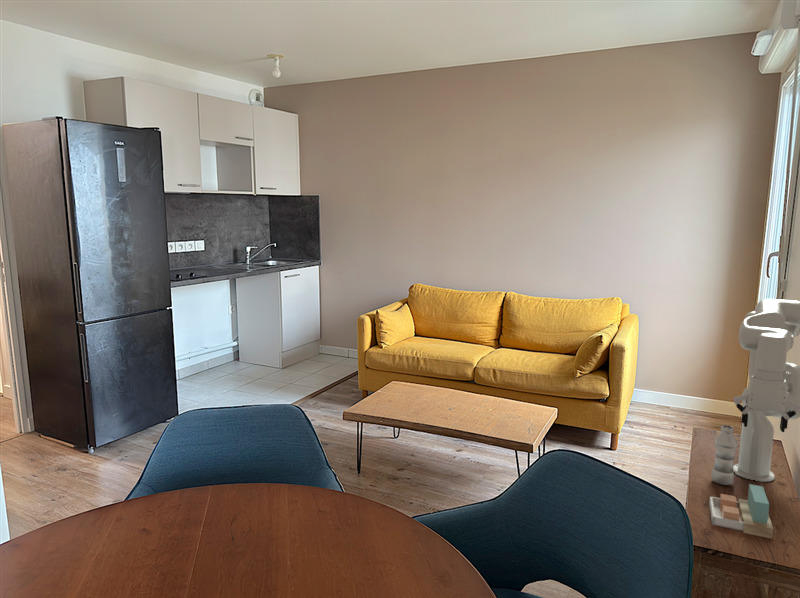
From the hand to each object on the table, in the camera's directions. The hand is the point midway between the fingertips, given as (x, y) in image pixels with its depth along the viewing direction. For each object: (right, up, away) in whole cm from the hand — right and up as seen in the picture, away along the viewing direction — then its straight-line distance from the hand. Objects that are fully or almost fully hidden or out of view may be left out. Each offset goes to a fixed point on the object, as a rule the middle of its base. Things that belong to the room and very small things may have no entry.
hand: (763, 427), depth 174 cm
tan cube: (-9, -24, -1) cm, 25 cm away
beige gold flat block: (-6, -27, -6) cm, 28 cm away
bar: (-6, -24, -6) cm, 25 cm away
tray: (-13, -26, -3) cm, 29 cm away
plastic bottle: (-2, -23, +19) cm, 31 cm away
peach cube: (-12, -25, -8) cm, 29 cm away
